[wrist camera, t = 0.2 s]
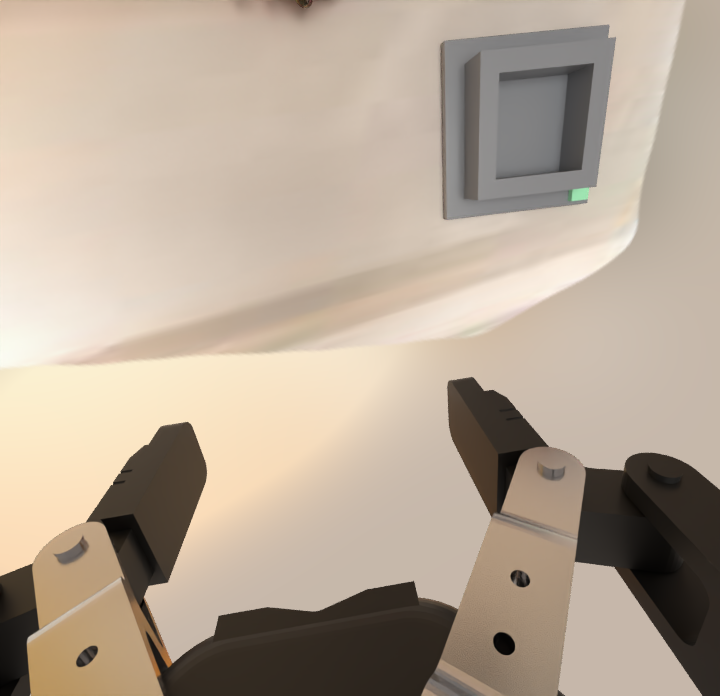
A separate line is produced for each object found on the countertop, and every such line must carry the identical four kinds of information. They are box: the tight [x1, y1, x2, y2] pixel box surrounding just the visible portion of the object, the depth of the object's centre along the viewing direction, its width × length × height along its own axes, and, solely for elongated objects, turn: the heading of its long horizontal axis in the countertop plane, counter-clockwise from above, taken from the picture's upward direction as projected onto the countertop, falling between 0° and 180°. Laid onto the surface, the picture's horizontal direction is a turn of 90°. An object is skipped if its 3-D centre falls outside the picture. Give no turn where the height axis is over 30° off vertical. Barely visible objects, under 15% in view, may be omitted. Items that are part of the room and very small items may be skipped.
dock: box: [441, 25, 616, 220], centre depth 34 cm, size 14×14×4 cm
